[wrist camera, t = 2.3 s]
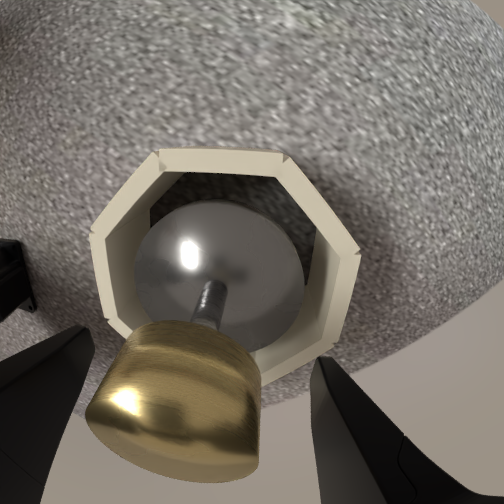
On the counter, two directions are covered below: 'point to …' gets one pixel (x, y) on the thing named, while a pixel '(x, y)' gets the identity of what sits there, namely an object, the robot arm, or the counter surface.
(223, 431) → the plunger
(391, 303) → the counter surface
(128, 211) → the cream octagonal ring
